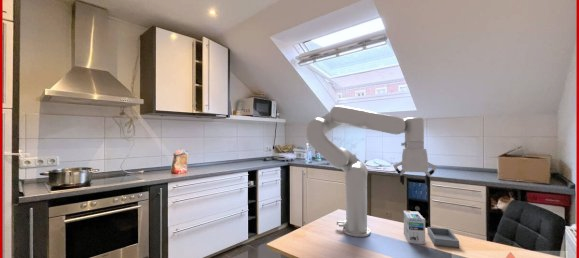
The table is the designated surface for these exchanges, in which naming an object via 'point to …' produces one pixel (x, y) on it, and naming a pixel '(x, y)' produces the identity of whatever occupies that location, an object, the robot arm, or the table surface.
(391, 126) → the robot arm
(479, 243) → the table surface
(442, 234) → the tray
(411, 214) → the light bulb box
